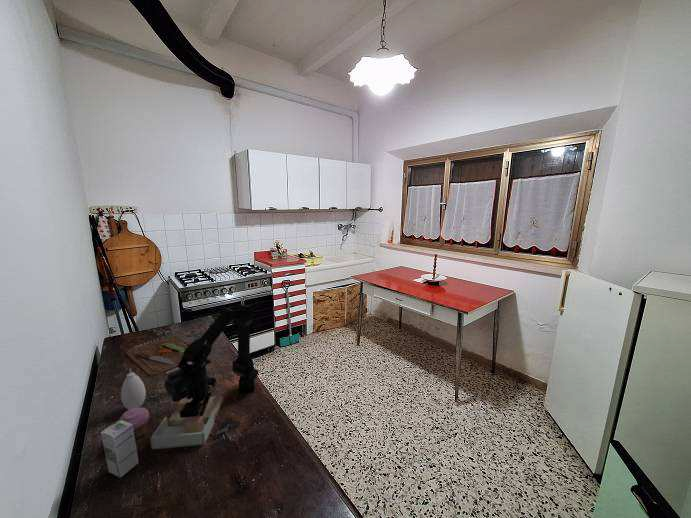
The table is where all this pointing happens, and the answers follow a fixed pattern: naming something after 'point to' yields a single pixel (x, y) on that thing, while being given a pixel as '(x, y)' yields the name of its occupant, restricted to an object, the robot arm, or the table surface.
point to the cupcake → (137, 420)
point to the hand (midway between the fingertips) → (201, 415)
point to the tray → (179, 435)
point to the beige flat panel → (211, 408)
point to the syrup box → (120, 448)
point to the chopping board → (159, 355)
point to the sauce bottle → (133, 391)
